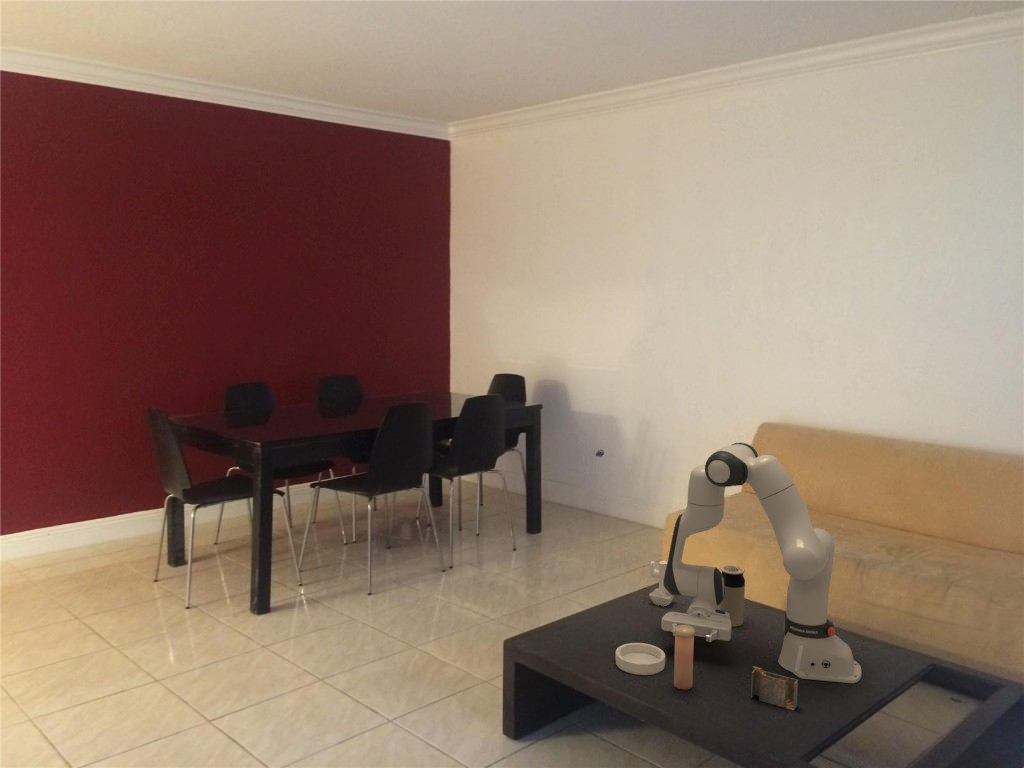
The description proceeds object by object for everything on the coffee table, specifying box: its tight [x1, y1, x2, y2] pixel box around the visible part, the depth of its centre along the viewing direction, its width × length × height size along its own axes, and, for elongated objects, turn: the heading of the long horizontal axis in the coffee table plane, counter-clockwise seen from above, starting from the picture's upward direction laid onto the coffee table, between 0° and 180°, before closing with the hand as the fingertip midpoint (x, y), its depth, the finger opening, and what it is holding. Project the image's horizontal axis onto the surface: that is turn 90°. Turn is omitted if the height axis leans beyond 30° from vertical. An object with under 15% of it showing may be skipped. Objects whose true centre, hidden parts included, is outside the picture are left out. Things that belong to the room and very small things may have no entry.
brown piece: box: [750, 665, 799, 711], centre depth 219 cm, size 11×3×10 cm, turn 57°
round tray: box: [615, 642, 666, 676], centre depth 241 cm, size 14×14×3 cm
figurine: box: [649, 560, 676, 607], centre depth 286 cm, size 7×9×15 cm
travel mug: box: [720, 564, 746, 628], centre depth 270 cm, size 8×8×18 cm
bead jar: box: [673, 625, 695, 691], centre depth 228 cm, size 5×5×16 cm
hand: (691, 636), depth 239 cm, fingers open, 8 cm apart
